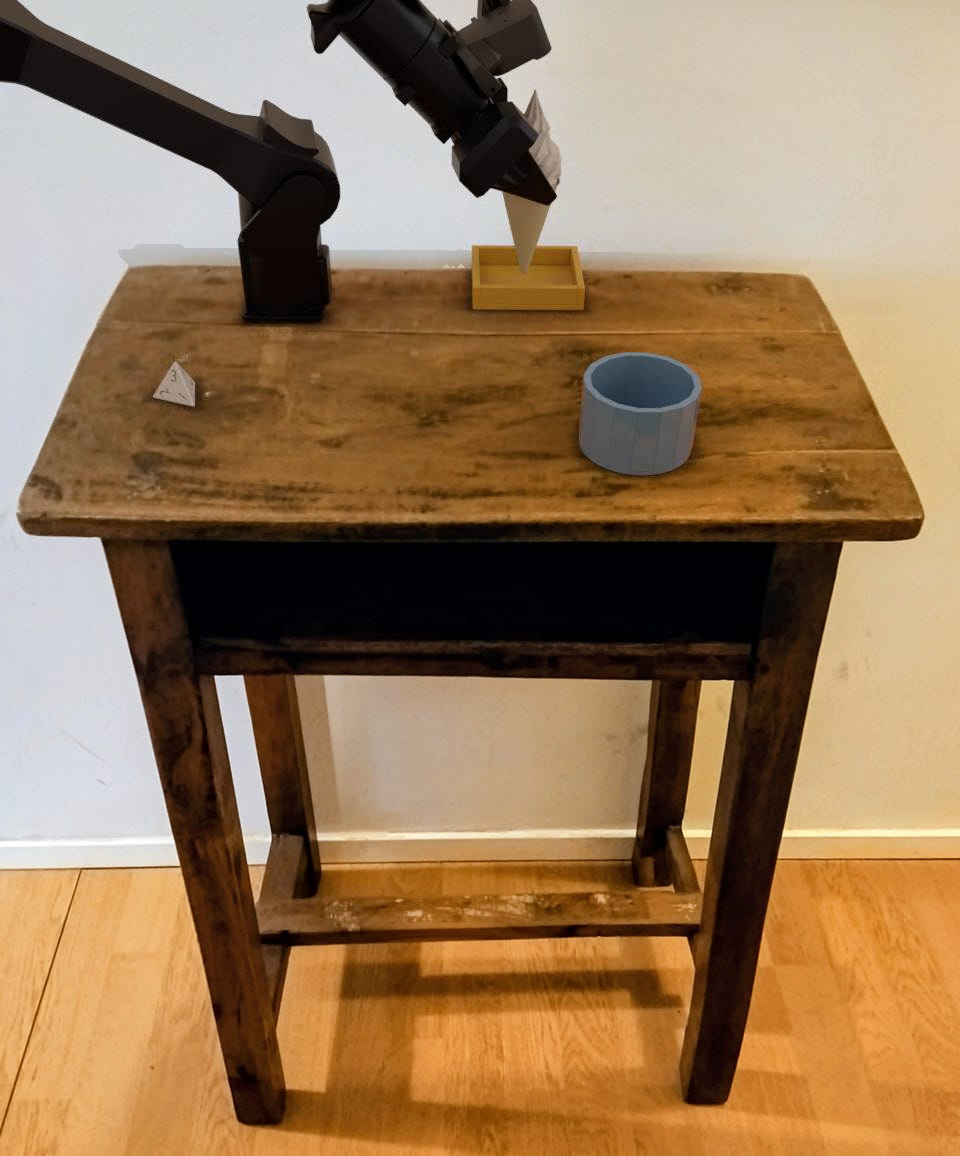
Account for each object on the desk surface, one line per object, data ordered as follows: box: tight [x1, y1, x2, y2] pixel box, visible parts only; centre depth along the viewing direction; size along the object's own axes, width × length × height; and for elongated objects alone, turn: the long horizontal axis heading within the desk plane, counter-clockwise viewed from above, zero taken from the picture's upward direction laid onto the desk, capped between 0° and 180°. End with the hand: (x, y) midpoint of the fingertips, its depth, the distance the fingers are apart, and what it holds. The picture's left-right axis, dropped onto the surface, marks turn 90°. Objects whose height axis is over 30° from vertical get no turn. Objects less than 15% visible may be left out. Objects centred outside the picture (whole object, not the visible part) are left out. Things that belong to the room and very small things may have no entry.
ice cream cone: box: [501, 88, 563, 274], centre depth 93 cm, size 5×5×15 cm
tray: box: [471, 244, 586, 311], centre depth 98 cm, size 9×8×2 cm
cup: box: [578, 351, 703, 476], centre depth 79 cm, size 8×8×5 cm
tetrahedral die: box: [152, 361, 196, 408], centre depth 84 cm, size 4×3×3 cm
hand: (544, 188), depth 93 cm, fingers closed on ice cream cone, 5 cm apart
